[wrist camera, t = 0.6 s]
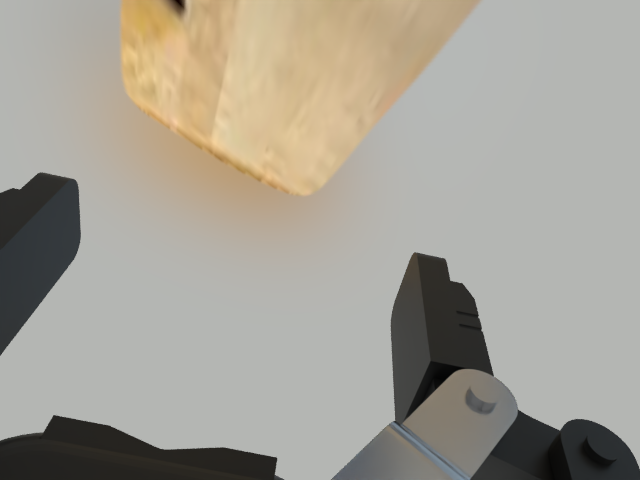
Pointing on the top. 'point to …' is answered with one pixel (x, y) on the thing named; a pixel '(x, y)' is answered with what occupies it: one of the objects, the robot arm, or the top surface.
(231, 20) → the top surface
